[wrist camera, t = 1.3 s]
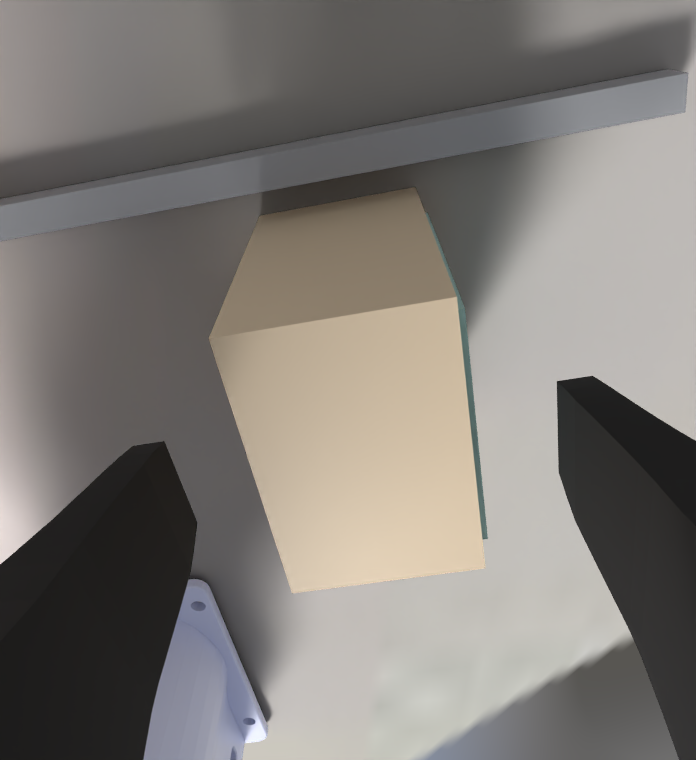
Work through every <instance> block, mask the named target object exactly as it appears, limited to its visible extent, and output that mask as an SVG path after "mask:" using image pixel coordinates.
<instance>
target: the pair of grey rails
mask: <svg viewBox="0 0 696 760" xmlns="http://www.w3.org/2000/svg"><path fill="white" fill-rule="evenodd" d="M687 84H688V73H687V72H681V71H676V70H671V69H665V70H660V71H655V72H650V73H644V74H639V75H634V76H629V77H624V78H619V79H614V80H609V81H603V82H598V83H593V84H588V85H583V86H578V87H573V88H567V89H562V90H557V91H552V92H547V93H542V94H537V95H532V96H526V97H521V98H516V99H511V100H506V101H501V102H496V103H490V104H485V105H480V106H475V107H470V108H465V109H460V110H455V111H449V112H444V113H439V114H434V115H429V116H424V117H419V118H413V119H408V120H403V121H398V122H393V123H388V124H383V125H378V126H372V127H367V128H362V129H357V130H352V131H347V132H342V133H336V134H331V135H326V136H321V137H316V138H311V139H306V140H301V141H295V142H290V143H285V144H280V145H275V146H270V147H265V148H259V149H254V150H249V151H244V152H239V153H234V154H229V155H224V156H218V157H213V158H208V159H203V160H198V161H193V162H188V163H182V164H177V165H172V166H167V167H162V168H157V169H152V170H147V171H141V172H136V173H131V174H126V175H121V176H116V177H111V178H106V179H100V180H95V181H90V182H85V183H80V184H75V185H70V186H64V187H59V188H54V189H49V190H44V191H39V192H34V193H29V194H23V195H18V196H13V197H8V198H3V199H0V241H5V240H10V239H16V238H21V237H26V236H32V235H37V234H42V233H48V232H53V231H58V230H63V229H69V228H74V227H79V226H85V225H90V224H95V223H101V222H106V221H111V220H117V219H122V218H127V217H132V216H138V215H143V214H148V213H154V212H159V211H164V210H170V209H175V208H180V207H186V206H191V205H196V204H201V203H207V202H212V201H217V200H223V199H228V198H233V197H239V196H244V195H249V194H255V193H260V192H265V191H270V190H276V189H281V188H286V187H292V186H297V185H302V184H308V183H313V182H318V181H323V180H329V179H334V178H339V177H345V176H350V175H355V174H361V173H366V172H371V171H377V170H382V169H387V168H392V167H398V166H403V165H408V164H414V163H419V162H424V161H430V160H435V159H440V158H446V157H451V156H456V155H461V154H467V153H472V152H477V151H483V150H488V149H493V148H499V147H504V146H509V145H515V144H520V143H525V142H530V141H536V140H541V139H546V138H552V137H557V136H562V135H568V134H573V133H578V132H584V131H589V130H594V129H599V128H605V127H610V126H615V125H621V124H626V123H631V122H637V121H642V120H647V119H652V118H658V117H663V116H668V115H674V114H679V113H684V112H685V110H686V97H687Z"/></svg>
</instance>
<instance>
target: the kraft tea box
mask: <svg viewBox="0 0 696 760" xmlns="http://www.w3.org/2000/svg"><path fill="white" fill-rule="evenodd" d="M209 342H210V345H211V348H212V351H213V354H214V357H215V360H216V363H217V366H218V369H219V372H220V375H221V378H222V381H223V384H224V387H225V391H226V394H227V397H228V400H229V403H230V406H231V409H232V412H233V415H234V418H235V421H236V424H237V427H238V430H239V433H240V436H241V439H242V442H243V445H244V448H245V451H246V455H247V458H248V461H249V464H250V467H251V470H252V473H253V476H254V479H255V482H256V485H257V488H258V491H259V494H260V497H261V500H262V503H263V506H264V509H265V512H266V515H267V518H268V522H269V525H270V528H271V531H272V534H273V537H274V540H275V543H276V546H277V549H278V552H279V555H280V558H281V561H282V564H283V567H284V570H285V573H286V576H287V579H288V582H289V586H290V589H291V592H292V593H299V592H307V591H315V590H322V589H330V588H338V587H346V586H353V585H361V584H369V583H376V582H384V581H392V580H399V579H407V578H415V577H423V576H430V575H438V574H446V573H453V572H461V571H469V570H476V569H484V568H485V559H484V550H483V540H482V539H488V537H487V527H486V517H485V506H484V496H483V486H482V476H481V466H480V456H479V446H478V436H477V426H476V416H475V406H474V396H473V386H472V375H471V365H470V355H469V345H468V335H467V325H466V315H465V307H464V305H463V302H462V300H461V297H460V294H459V292H458V289H457V287H456V284H455V282H454V279H453V277H452V274H451V271H450V269H449V266H448V264H447V261H446V259H445V256H444V253H443V251H442V248H441V246H440V243H439V241H438V238H437V236H436V233H435V230H434V228H433V225H432V223H431V220H430V218H429V215H428V212H427V213H425V211H424V208H423V206H422V203H421V201H420V198H419V195H418V193H417V190H416V187H412V188H407V189H401V190H396V191H391V192H385V193H380V194H374V195H369V196H364V197H358V198H353V199H347V200H342V201H337V202H331V203H326V204H320V205H315V206H310V207H304V208H299V209H293V210H288V211H283V212H277V213H272V214H266V215H261V216H259V218H258V221H257V223H256V226H255V228H254V230H253V233H252V235H251V238H250V240H249V242H248V245H247V247H246V250H245V252H244V254H243V257H242V259H241V262H240V264H239V266H238V269H237V271H236V274H235V276H234V279H233V281H232V283H231V286H230V288H229V291H228V293H227V295H226V298H225V300H224V303H223V305H222V307H221V310H220V312H219V315H218V317H217V319H216V322H215V324H214V327H213V329H212V332H211V334H210V336H209Z"/></svg>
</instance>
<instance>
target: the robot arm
mask: <svg viewBox="0 0 696 760" xmlns="http://www.w3.org/2000/svg"><path fill="white" fill-rule="evenodd" d="M557 408H558V457H559V474H560V477H561V480H562V483H563V486H564V489H565V492H566V496H567V499H568V501H569V504H570V507H571V510H572V513H573V516H574V518H575V521H576V523H577V525H578V527H579V529H580V531H581V534H582V536H583V538H584V540H585V542H586V544H587V546H588V548H589V550H590V552H591V554H592V556H593V558H594V560H595V562H596V564H597V566H598V568H599V570H600V572H601V574H602V576H603V578H604V580H605V582H606V584H607V586H608V588H609V590H610V592H611V594H612V596H613V598H614V600H615V602H616V604H617V606H618V608H619V610H620V612H621V614H622V616H623V618H624V620H625V622H626V624H627V626H628V628H629V630H630V632H631V635H632V637H633V639H634V641H635V643H636V646H637V648H638V650H639V653H640V655H641V657H642V660H643V663H644V665H645V668H646V671H647V673H648V676H649V679H650V681H651V684H652V687H653V689H654V692H655V694H656V697H657V700H658V702H659V705H660V708H661V710H662V713H663V716H664V719H665V721H666V724H667V727H668V730H669V732H670V735H671V738H672V741H673V743H674V746H675V749H676V752H677V755H678V757H679V760H696V441H695V440H693V439H691V438H690V437H688V436H686V435H685V434H683V433H681V432H680V431H678V430H676V429H675V428H673V427H671V426H670V425H668V424H666V423H665V422H663V421H662V420H660V419H658V418H657V417H655V416H654V415H652V414H650V413H649V412H647V411H646V410H644V409H643V408H641V407H640V406H638V405H637V404H635V403H633V402H632V401H630V400H629V399H627V398H626V397H624V396H623V395H621V394H620V393H618V392H617V391H615V390H614V389H612V388H611V387H609V386H608V385H606V384H605V383H603V382H602V381H600V380H598V379H597V378H595V377H593V376H589V377H582V378H576V379H569V380H563V381H557ZM196 529H197V521H196V518H195V516H194V513H193V511H192V508H191V506H190V504H189V501H188V499H187V496H186V494H185V491H184V489H183V486H182V484H181V481H180V479H179V476H178V474H177V472H176V469H175V467H174V464H173V462H172V459H171V457H170V454H169V452H168V449H167V447H166V444H165V442H164V441H163V442H156V443H150V444H143V445H137V446H133V447H131V448H130V449H129V450H128V451H126V452H125V453H124V454H123V455H122V456H120V457H119V458H118V459H117V460H116V461H115V462H114V463H113V464H111V465H110V466H109V467H108V468H107V469H106V470H105V471H104V472H103V473H102V474H101V475H100V476H99V477H97V478H96V479H95V480H94V481H93V482H92V483H91V484H90V485H89V486H88V487H87V488H86V489H85V490H84V491H83V492H82V493H80V494H79V495H78V496H77V497H76V498H75V499H74V500H73V501H72V502H71V503H70V504H69V505H68V506H67V507H65V508H64V509H63V510H62V511H61V512H60V513H59V514H58V515H57V516H56V517H55V518H54V519H53V520H51V521H50V522H49V523H48V524H47V525H46V526H44V527H43V528H42V529H41V530H40V531H39V532H38V533H36V534H35V535H34V536H33V537H32V538H31V539H30V540H28V541H27V542H26V543H25V544H24V545H23V546H21V547H20V548H19V549H18V550H17V551H16V552H15V553H13V554H12V555H11V556H10V557H9V558H8V559H6V560H5V561H4V562H3V563H1V564H0V760H242V757H243V750H244V743H250V742H258V741H262V740H264V739H265V738H266V737H267V733H268V725H267V723H266V721H265V718H264V716H263V713H262V711H261V709H260V706H259V704H258V702H257V699H256V697H255V694H254V692H253V690H252V687H251V685H250V682H249V680H248V678H247V675H246V673H245V671H244V668H243V666H242V663H241V661H240V659H239V656H238V654H237V651H236V649H235V647H234V644H233V642H232V640H231V637H230V635H229V632H228V630H227V628H226V625H225V623H224V620H223V618H222V616H221V613H220V611H219V608H218V606H217V604H216V601H215V599H214V597H213V594H212V592H211V589H210V587H209V586H208V584H207V583H205V582H204V581H202V580H199V579H190V580H188V579H189V576H190V572H191V566H192V559H193V553H194V545H195V537H196ZM197 601H200V602H197Z"/></svg>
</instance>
